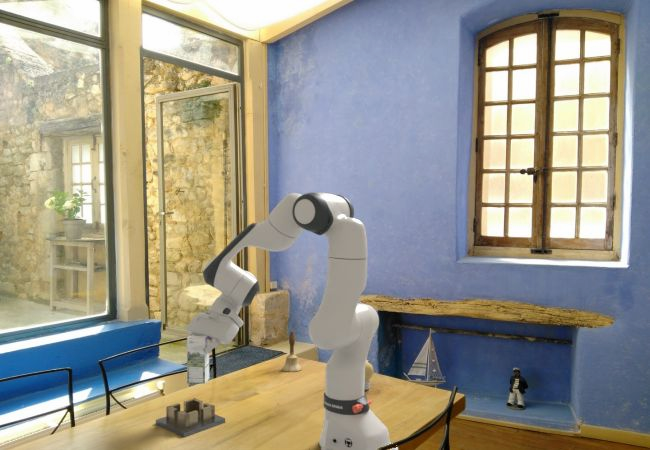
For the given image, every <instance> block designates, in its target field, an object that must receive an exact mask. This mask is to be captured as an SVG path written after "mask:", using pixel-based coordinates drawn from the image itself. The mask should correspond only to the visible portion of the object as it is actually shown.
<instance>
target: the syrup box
mask: <svg viewBox="0 0 650 450" xmlns="http://www.w3.org/2000/svg"><path fill="white" fill-rule="evenodd" d="M186 343H187V346H186V359H187V360H186V368H187V370H186V374H187V375H186V376H187V384H194V385H195V384H203V385H205V384H206V383H207V382H208V381H209V380H210V353H209V354H208V353H205V352H204V351H203V349H204V348H205V346H206V345H207V346H208V345H209V344H210V340H209V337H208V336H207V335H203V334H191V335H190V334H189V335H188V336H187V337H186Z"/></svg>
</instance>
